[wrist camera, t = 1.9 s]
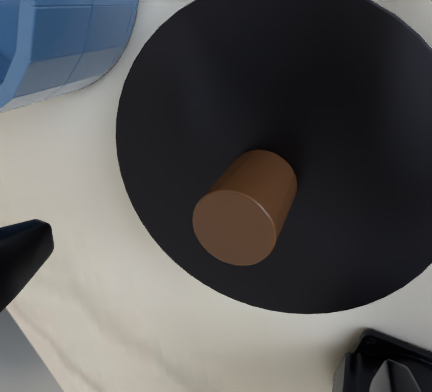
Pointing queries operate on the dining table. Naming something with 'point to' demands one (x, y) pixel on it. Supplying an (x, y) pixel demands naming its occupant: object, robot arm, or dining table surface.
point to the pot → (58, 46)
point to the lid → (284, 150)
